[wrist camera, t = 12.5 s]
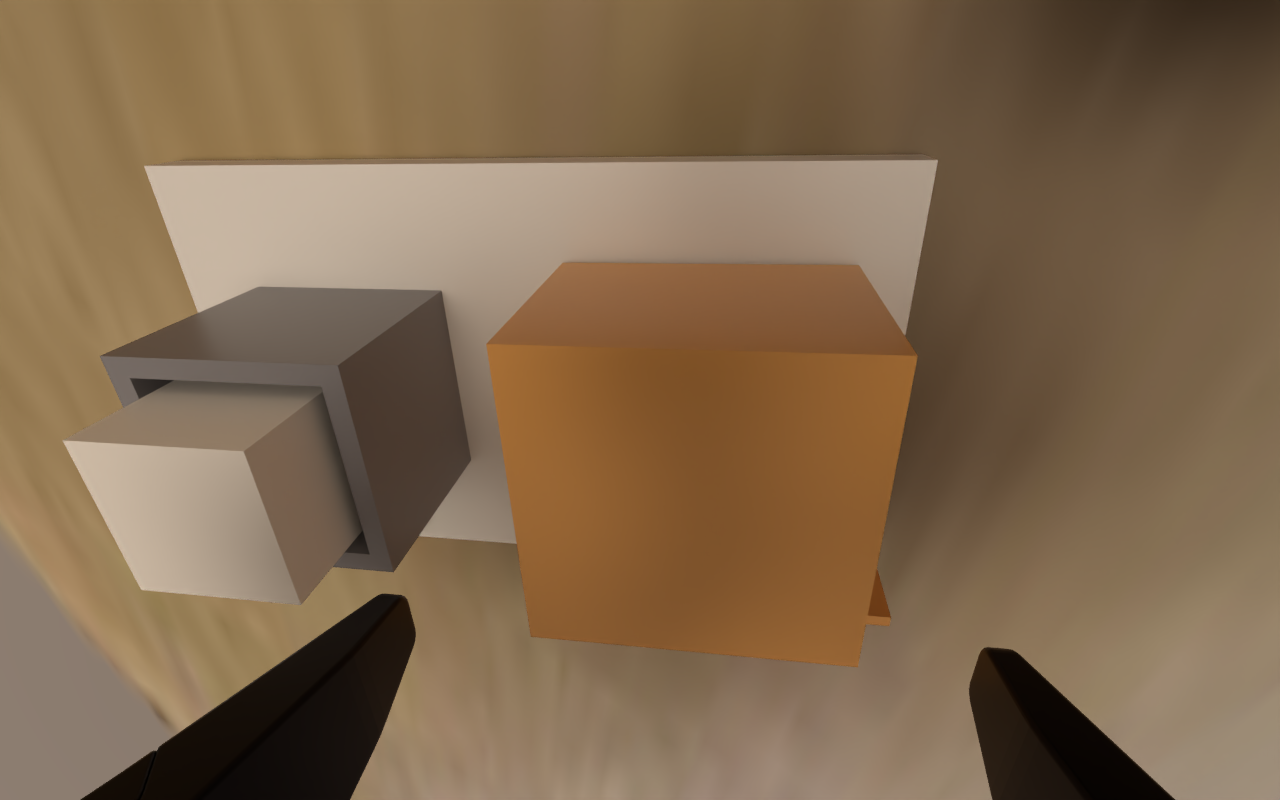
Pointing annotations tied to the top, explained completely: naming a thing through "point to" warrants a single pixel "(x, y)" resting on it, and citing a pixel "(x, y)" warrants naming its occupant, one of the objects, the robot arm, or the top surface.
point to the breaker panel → (472, 290)
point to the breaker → (222, 489)
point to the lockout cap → (702, 454)
